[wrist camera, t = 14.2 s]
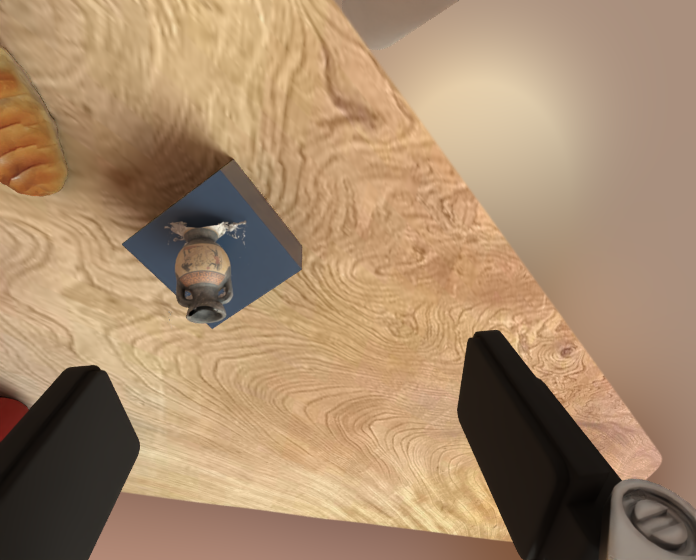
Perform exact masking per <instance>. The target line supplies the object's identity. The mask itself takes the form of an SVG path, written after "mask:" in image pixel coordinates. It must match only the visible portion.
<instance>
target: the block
mask: <svg viewBox="0 0 696 560" xmlns="http://www.w3.org/2000/svg"><path fill="white" fill-rule="evenodd" d="M181 221H182V222H183V223H184V222H185V224H184V226H186V225H187V226H186V227H193V228H202V227H208V226H214V225H218V223H219V224H221V223H222V222H224V223H225V222H229V223H228V224H233V222H234V223H239V222H244V221H246V224H243V223H242V224H241V225H238V226H236V227H238V228H239V229H238V228H236V230H237V231H236V230H235V229H233V231H231V232H230V231H226V232H225V234H224V235H222V236H221V237H220V238H218V240H217V241H216V242H215V243H217V244H218V245H220V247H222V249H224V251H225V252H226V254H227V256H228V258H229V261H230V265H231V275H232V276H231V281H232V288H233V296H232V299H231V300H230V301H229V302H228V303H226V304H223V306H224V308H225V311H226V314H227V315H226V317H225V318H224V319H222V320H220V321H217V322H213V323H206V324H207V325H209V326H210V327H211V328H212V329H213V328H214V327H216V326H217V325H219V324H220V323H222V322H223V321H225V320H226V319H228V318H229V317H231V316H232V315H234V314H235V313H237V312H238V311H240V310H241V309H243V308H244V307H246V306H247V305H249V304H250V303H252V302H253V301H255V300H257V299H258V298H260V297H261V296H263V295H264V294H266V293H267V292H269V291H270V290H272V289H273V288H275V287H276V286H278V285H279V284H281V283H282V282H284V281H285V280H287V279H288V278H290V277H291V276H293V275H294V274H296V273H297V272H299V271H300V270H302V245H301V244H300V243H299V241H298V240H297V239H296V238H295V236H294V235H293V234H292V233H291V231H290V230H289V229H288V228H287V226H286V225H285V224H284V222H283V221H282V220H281V219H280V217H279V216H278V215H277V214H276V212H275V211H274V210H273V209H272V207H271V206H270V205H269V203H268V202H267V201H266V200H265V198H264V197H263V196H262V195H261V193H260V192H259V191H258V190H257V188H256V187H255V186H254V184H253V183H252V182H251V181H250V179H249V178H248V177H247V176H246V174H245V173H244V172H243V170H242V169H241V168H240V167H239V165H238V164H237V163H236V162H235V160H234V159H233V160H232V161H230V162H229V163H228V164H226V165H225V166H224V167H223V168H221V169H220V170H219V171H217V172H216V173H215V174H213V175H212V176H211V177H209V178H208V179H207V180H205V181H204V182H203V183H201V184H200V185H199V186H197V187H196V188H195V189H193V190H192V191H191V192H189V193H188V194H187V195H185V196H184V197H183V198H182V199H180V200H179V201H178V202H176V203H175V204H174V205H172V206H171V207H170V208H168V209H167V210H166V211H164V212H163V213H162V214H160V215H159V216H158V217H156V218H155V219H154V220H152V221H151V222H150V223H148V224H147V225H146V226H145V227H143V228H142V229H141V230H139V231H138V232H137V233H135V234H134V235H133V236H131V237H130V238H129V239H128V240H126V241H125V242H124V243H122V245H123V246H124V247H125V248H126V249H127V250H128V251H129V252H130V253H132V254H133V255H134V256H135V257H136V258H137V259H138V260H139V261H140V262H141V263H142V264H143V265H144V266H145V267H147V268H148V269H149V270H150V271H151V272H152V273H153V274H154V275H155V276H156V277H157V278H158V279H159V280H160V281H161V282H163V283H164V284H165V285H166V286H167V287H168V288H169V289H170V290H171V291H172V292H173V293H174V294H175V295H176V286H177V280H176V275H175V263H176V259H177V256H178V254H179V252H180V250H181V249H182V248H183V247H184V245H185V243H187V242H186V240H184V239H183V236H182V238H181V236H180V235H179V234H177V233H176V234H175V232H173V231H171V228H172V227H173V226H172V225H171V224H170V223H172V222H173V223H176V222H179V223H180V222H181ZM179 223H178V224H179ZM186 223H187V224H186ZM226 225H227V224H226ZM165 226H166V227H167V226H168V227H169V228H165ZM227 226H229V225H227ZM173 228H174V227H173ZM173 228H172V229H173ZM226 230H228V229H226ZM244 231H245V232H244ZM171 233H173V234H171ZM243 233H244V234H243ZM227 234H228V235H227ZM232 234H233V237H232ZM234 234H235V235H236V237H237V239H236V238H234V237H235V235H234ZM244 235H245V237H244ZM178 236H179V237H178ZM238 236H239V237H238ZM243 237H244V238H243ZM175 238H178V239H180V240H178V239H175ZM174 239H175V241H176V240H177V241H176V242H175V241H173V240H174ZM181 239H183V240H181ZM242 239H243V240H242ZM243 242H244V243H243ZM244 244H245V245H244ZM240 257H241V258H240ZM224 290H225V289H222V290H220V291H219V292H218V296H220V294H223V292H225V291H224ZM187 293H188V294H187ZM185 294H186V295H187V296H190V295H191V293H189V292H187V291H186V292H185ZM186 295H185V297H187V296H186ZM176 296H177V295H176Z"/></svg>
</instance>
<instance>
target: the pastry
mask: <svg viewBox="0 0 696 560" xmlns="http://www.w3.org/2000/svg"><path fill="white" fill-rule="evenodd" d="M67 176H68V168H67V163H66V161H65V159H64V152H63V150H62V149H61V144H60V142H59V139H58V129H57V125H56V123H55V121H54V120H53V119H52V118H51V116H50V114H49V111H48V109H47V107H46V106H45V104H44V103H43V101H42V99H41V96H40V95H39V94H38V93H37V92H36V90H35V88H34V86H33V85H32V83H31V80H30V78H29V77H28V75H27V74H26V72H25V71H24V69H23V68H22V67H21V66H20V65H19V64H18V63H17V62H16V61H15V60H14V58H13V57H12V56H11V55H10V54H9V53H8V52H7V50H6V49H5V48H4V47H2V46H0V182H1V183H3V184H5V185H7V186H9V187H10V188H12V189H13V190H15V191H16V192H18V193H21V194H26V195H31V196H46V195H51V194H54V193H56V192H59V191H60V190H61V189H62V187H63V185H64V183H65V181H66V178H67Z"/></svg>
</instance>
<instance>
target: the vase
mask: <svg viewBox="0 0 696 560" xmlns="http://www.w3.org/2000/svg"><path fill="white" fill-rule="evenodd" d="M178 223H179V222H176V223H173V222H172V223H170V224H171V225H172V226H173V227H174V228H173V227H172V228H173V229H172V228H171V231H173V232H175V234H176V233H177V234H179V235H180V236H181V238H182V236H183V239H184V240H186V242H187V243H185V245H184V247H183V248H182V249H181V250H180V252H179V254H178V256H177V259H176V263H175V275H176V280H177V286H176V295H177V296H176V298H177V301H178V303H179V304H180V305H181V306H183V307H188V308H189V309H188V311H187V315H186V318H187V320H189V321H191V322H194V323H213V322H217V321H220V320H222V319H224V318H225V317H226V315H227V314H226V311H225V308H224V306H223V304H226V303H228V302H229V301H230V300H231V299H232V296H233V288H232V281H231V276H232V275H231V265H230V261H229V258H228V256H227V254H226V252H225V251H224V249H222V247H220V245H218V244H217V243H215V242H216V241H217V240H218V238H220V237H221V236H222V235H224V234H225V232H226V231H230V232H231V231H233V229H235V230H236V228H238V227H236V226H238V225H241V224H242V223H243V224H246V221H244V222H239V223H234V222H233V224H228V223H229V222H225V223H224V222H222V223H221V224H219V223H218V225H214V226H208V227H202V228H193V227H186V226H187V225H186V226H184V224H185V222H184V223H183V222H182V221H181V222H180V223H179V224H178ZM186 224H187V223H186ZM226 224H227V225H229V226H227V225H226ZM165 228H169V227H168V226H167V227H166V226H165ZM226 229H228V230H226ZM238 229H239V228H238ZM236 231H237V230H236ZM244 232H245V231H244ZM171 234H173V233H171ZM243 234H244V233H243ZM227 235H228V234H227ZM234 235H235V234H234ZM178 237H179V236H178ZM232 237H233V234H232ZM238 237H239V236H238ZM244 237H245V235H244ZM244 237H243V238H244ZM234 238H236V239H237V237H236V235H235V237H234ZM175 239H178V238H175ZM175 239H174V240H173V241H175ZM183 239H181V240H183ZM178 240H180V239H178ZM242 240H243V239H242ZM176 241H177V240H176ZM176 241H175V242H176ZM243 243H244V242H243ZM244 245H245V244H244ZM240 258H241V257H240ZM222 289H225V290H224V291H225V292H223V294H220V296H218V292H219V291H220V290H222ZM186 291H187V292H189V293H191V295H190V296H187V295H186V294H185V292H186ZM187 294H188V293H187ZM185 295H186V296H187V297H185ZM169 313H170V312H169ZM169 321H170V319H169Z"/></svg>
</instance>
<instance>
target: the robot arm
mask: <svg viewBox="0 0 696 560" xmlns="http://www.w3.org/2000/svg"><path fill="white" fill-rule="evenodd" d="M457 413H458V418H459V422H460V424H461V426H462V429H463V431H464V433H465V435H466V438H467V440H468V442H469V444H470V447H471V449H472V451H473V453H474V456H475V458H476V460H477V462H478V465H479V467H480V469H481V471H482V474H483V476H484V478H485V480H486V482H487V485H488V487H489V489H490V491H491V494H492V496H493V498H494V500H495V503H496V505H497V507H498V509H499V512H500V514H501V516H502V518H503V521H504V523H505V525H506V527H507V530H508V532H509V534H510V536H511V539H512V541H513V543H514V545H515V547H516V550H517V552H518V554H519V555H520V557H521V558H522V559H523V560H696V509H695V508H694V507H693V506H692V505H691V504H689V503H688V502H687V501H685V500H684V499H682V498H681V497H680V496H679V495H677V494H676V493H674V492H672V491H670V490H668V489H667V488H665V487H663V486H661V485H658V484H655V483H652V482H649V481H646V480H640V479H628V480H623V481H622V480H621V479H620V478H619V476H618V475H617V474H616V473H615V471H614V470H613V469H612V467H611V466H610V465H609V464H608V462H607V461H606V460H605V459H604V457H603V456H602V455H601V454H600V452H599V451H598V450H597V449H596V447H595V446H594V445H593V444H592V442H591V441H590V440H589V439H588V437H587V436H586V435H585V434H584V432H583V431H582V430H581V429H580V427H579V426H578V425H577V423H576V422H575V421H574V420H573V418H572V417H571V416H570V415H569V413H568V412H567V411H566V410H565V408H564V407H563V406H562V405H561V403H560V402H559V401H558V400H557V398H556V397H555V396H554V395H553V393H552V392H551V391H550V390H549V388H548V387H547V386H546V384H545V383H544V382H543V381H542V380H540V379H538V378H536V376H535V375H534V374H533V373H532V371H531V370H530V369H529V368H528V366H527V365H526V364H525V362H524V361H523V360H522V359H521V357H520V356H519V355H518V353H517V352H516V351H515V350H514V348H513V347H512V346H511V345H510V343H509V342H508V341H507V339H506V338H505V337H504V336H503V334H502V333H501V332H500V331H498V330H490V331H479V332H475V334H474V336H473V338H469V339H468V342H467V348H466V354H465V361H464V368H463V374H462V381H461V387H460V394H459V401H458V407H457ZM139 450H140V442H139V439H138V437H137V435H136V433H135V431H134V429H133V427H132V424H131V422H130V420H129V418H128V416H127V414H126V412H125V410H124V408H123V406H122V403H121V401H120V399H119V397H118V395H117V393H116V391H115V389H114V387H113V385H112V382H111V380H110V378H109V376H108V374H107V373H106V372H105V371H103V370H100V368H99V367H98V366H95V365H90V366H78V367H70V368H67V369H66V370H64V371H63V372H62V373H61V374H60V376H59V377H58V378H57V379H56V380H55V381H54V382H53V383H52V385H51V386H50V387H49V388H48V389H47V390H46V391H45V392H44V394H43V395H42V396H41V397H40V398H39V399H38V400H37V402H36V403H35V404H34V405H33V406H32V407H31V408H30V409H29V411H28V412H27V413H26V414H25V415H24V416H23V417H22V418H21V420H20V421H19V422H18V423H17V424H16V425H15V426H14V427H13V429H12V430H11V431H10V432H9V433H8V434H7V435H6V436H5V438H4V439H3V440H2V441H1V442H0V560H88V559H89V557H90V555H91V553H92V551H93V548H94V546H95V544H96V542H97V540H98V538H99V536H100V534H101V532H102V530H103V527H104V526H105V523H106V521H107V519H108V517H109V515H110V513H111V511H112V509H113V507H114V505H115V502H116V500H117V498H118V496H119V494H120V492H121V490H122V488H123V486H124V484H125V482H126V479H127V477H128V475H129V473H130V471H131V469H132V467H133V465H134V463H135V461H136V459H137V456H138V454H139Z"/></svg>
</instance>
